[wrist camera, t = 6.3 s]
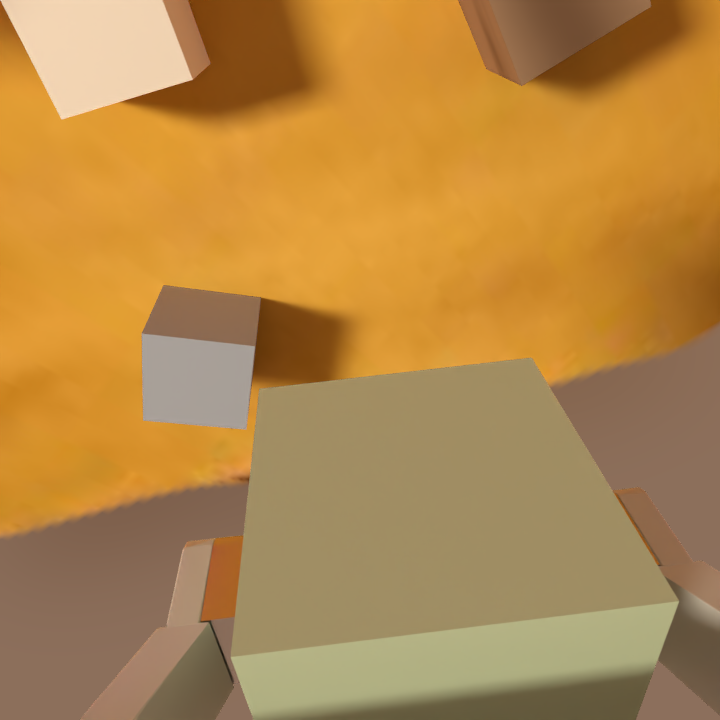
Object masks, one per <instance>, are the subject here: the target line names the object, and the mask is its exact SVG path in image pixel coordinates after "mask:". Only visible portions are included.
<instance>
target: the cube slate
mask: <svg viewBox="0 0 720 720" xmlns="http://www.w3.org/2000/svg"><path fill="white" fill-rule="evenodd" d="M260 303H261V297H253V296H245V295H237V294H229V293H221V292H213V291H206V290H198V289H190V288H182V287H174V286H166V285H164V286H163V288H162V290H161V292H160V294H159V297H158V299H157V301H156V303H155V306H154V308H153V310H152V312H151V314H150V317H149V319H148V321H147V323H146V326H145V328H144V330H143V332H142V373H143V420H144V421H155V422H167V423H178V424H190V425H201V426H212V427H224V428H235V429H246V427H247V419H248V410H249V402H250V394H251V386H252V378H253V369H254V359H255V350H256V340H257V331H258V322H259V312H260Z"/></svg>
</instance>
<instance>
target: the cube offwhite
mask: <svg viewBox="0 0 720 720" xmlns="http://www.w3.org/2000/svg"><path fill="white" fill-rule="evenodd" d="M0 1H1V2H2V4H3V6H4V8H5V10H6V12H7V14H8V16H9V18H10V20H11V22H12V24H13V26H14V28H15V30H16V32H17V34H18V35H19V37H20V39H21V41H22V43H23V45H24V47H25V49H26V51H27V53H28V55H29V57H30V59H31V61H32V63H33V65H34V67H35V68H36V70H37V72H38V74H39V76H40V78H41V80H42V82H43V84H44V86H45V88H46V90H47V92H48V94H49V96H50V98H51V100H52V101H53V103H54V105H55V107H56V109H57V111H58V113H59V115H60V117H61V119H65V118H68V117H71V116H75V115H78V114H81V113H84V112H88V111H91V110H94V109H98V108H101V107H104V106H108V105H111V104H114V103H117V102H121V101H124V100H127V99H131V98H134V97H137V96H141V95H144V94H147V93H150V92H154V91H157V90H160V89H164V88H167V87H170V86H174V85H177V84H180V83H183V82H187V81H190V80H193V79H194V78H195V77H196V76H197V75H199V74H200V73H201V72H202V71H203V70H204V69H205V68H206V67H208V66H209V65H210V64H211V63H210V60H209V57H208V55H207V52H206V49H205V46H204V44H203V41H202V38H201V35H200V32H199V30H198V27H197V24H196V21H195V19H194V16H193V13H192V10H191V8H190V5H189V2H188V0H0Z"/></svg>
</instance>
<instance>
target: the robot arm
mask: <svg viewBox="0 0 720 720" xmlns="http://www.w3.org/2000/svg"><path fill="white" fill-rule="evenodd" d="M613 493H614V494H615V496H616V498H617V499H618V501H619V503H620V504H621V506H622V508H623V509H624V511H625V512H626V514H627V516H628V517H629V519H630V521H631V522H632V524H633V526H634V527H635V529H636V531H637V532H638V534H639V536H640V537H641V539H642V541H643V542H644V544H645V545H646V547H647V549H648V550H649V552H650V554H651V555H652V557H653V559H654V560H655V562H656V564H657V565H658V567H659V569H660V570H661V572H662V574H663V575H664V577H665V578H666V580H667V582H668V583H669V585H670V587H671V588H672V590H673V592H674V593H675V595H676V597H677V598H678V600H679V603H678V606H677V609H676V611H675V614H674V617H673V620H672V622H671V625H670V628H669V630H668V633H667V636H666V639H665V641H664V644H663V647H662V650H661V652H660V655H659V658H658V660H659V661H660V662H661V663H662V664H663V665H664V666H665V667H666V668H667V669H668V670H670V671H671V672H672V673H673V674H674V675H675V676H676V677H677V678H678V679H680V680H681V681H682V682H683V683H684V684H685V685H686V686H687V687H688V688H690V689H691V690H692V691H693V692H694V693H695V694H696V695H697V696H699V697H700V698H701V699H702V700H703V701H704V702H705V703H706V704H707V705H709V706H710V707H711V708H712V709H713V710H714V711H715V712H716V713H718V714H719V715H720V572H719V571H717V570H716V569H714V568H713V567H711V566H709V565H708V564H706V563H705V562H703V561H695V562H693V561H692V559H691V558H690V556H689V555H688V553H687V552H686V550H685V549H684V548H683V546H682V545H681V543H680V542H679V540H678V539H677V537H676V536H675V534H674V533H673V531H672V530H671V529H670V527H669V525H668V524H667V523H666V521H665V520H664V518H663V517H662V515H661V514H660V512H659V511H658V509H657V508H656V506H655V505H654V504H653V502H652V501H651V499H650V498H649V496H648V495H647V493H646V492H645V491H644V490H642V489H641V488H639V487H638V488H630V489H622V490H613ZM242 546H243V536H234V537H225V538H215V539H205V540H196V541H188V542H187V543H186V545H185V547H184V549H183V551H182V556H181V560H180V565H179V570H178V575H177V579H176V584H175V588H174V593H173V598H172V602H171V607H170V612H169V616H168V621H167V625H166V627H163V628H157V630H156V631H155V632H154V633H153V634H152V635H151V636H150V638H149V639H148V640H147V641H146V643H145V644H144V645H143V646H142V647H141V648H140V649H139V651H138V652H137V653H136V654H135V655H134V656H133V658H132V659H131V660H130V661H129V662H128V664H127V665H126V666H125V667H124V668H123V669H122V671H121V672H120V673H119V674H118V676H116V678H115V679H114V680H113V681H112V682H111V684H110V685H109V686H108V687H107V688H106V689H105V691H104V692H103V693H102V694H101V695H100V696H99V697H98V699H97V700H96V701H95V702H94V704H92V706H91V707H90V708H89V709H88V710H87V712H86V713H85V714H84V715H83V716H82V717H81V719H80V720H215V719H216V717H217V716H218V714H219V712H220V710H221V709H222V707H223V705H224V704H225V702H226V700H227V698H228V696H229V695H230V693H231V691H232V690H233V688H234V686H233V684H237V683H240V682H239V679H238V676H237V673H236V671H235V668H234V665H233V663H232V660H231V648H232V638H233V629H234V620H235V610H236V601H237V592H238V583H239V573H240V564H241V555H242Z"/></svg>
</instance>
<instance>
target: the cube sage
mask: <svg viewBox="0 0 720 720" xmlns="http://www.w3.org/2000/svg"><path fill="white" fill-rule="evenodd" d="M678 603H679V600H678V598H677V597H676V595H675V593H674V592H673V590H672V588H671V587H670V585H669V583H668V582H667V580H666V578H665V577H664V575H663V574H662V572H661V570H660V569H659V567H658V565H657V564H656V562H655V560H654V559H653V557H652V555H651V554H650V552H649V550H648V549H647V547H646V545H645V544H644V542H643V541H642V539H641V537H640V536H639V534H638V532H637V531H636V529H635V527H634V526H633V524H632V522H631V521H630V519H629V517H628V516H627V514H626V512H625V511H624V509H623V508H622V506H621V504H620V503H619V501H618V499H617V498H616V496H615V494H614V493H613V491H612V489H611V488H610V486H609V485H608V483H607V481H606V480H605V478H604V476H603V475H602V473H601V471H600V470H599V468H598V466H597V465H596V463H595V461H594V460H593V458H592V456H591V455H590V453H589V451H588V450H587V448H586V446H585V445H584V443H583V442H582V440H581V438H580V437H579V435H578V433H577V432H576V430H575V428H574V427H573V425H572V424H571V422H570V420H569V419H568V417H567V415H566V414H565V412H564V410H563V409H562V407H561V406H560V404H559V402H558V400H557V399H556V397H555V395H554V394H553V392H552V390H551V389H550V387H549V385H548V384H547V382H546V381H545V379H544V377H543V376H542V374H541V372H540V371H539V369H538V367H537V366H536V364H535V362H534V361H533V359H532V358H525V359H516V360H508V361H499V362H490V363H481V364H473V365H464V366H455V367H446V368H438V369H429V370H420V371H411V372H403V373H394V374H385V375H376V376H368V377H359V378H350V379H341V380H332V381H324V382H315V383H306V384H297V385H289V386H280V387H271V388H262V389H259V397H258V406H257V416H256V425H255V434H254V443H253V453H252V462H251V471H250V481H249V490H248V499H247V509H246V518H245V527H244V536H243V546H242V555H241V564H240V573H239V583H238V592H237V601H236V610H235V620H234V629H233V638H232V648H231V660H232V663H233V665H234V668H235V671H236V673H237V676H238V679H239V682H240V684H241V687H242V689H243V692H244V695H245V698H246V700H247V703H248V705H249V708H250V711H251V714H252V717H253V719H254V720H636V717H637V714H638V712H639V709H640V707H641V704H642V701H643V698H644V695H645V693H646V690H647V687H648V685H649V682H650V679H651V677H652V674H653V671H654V669H655V666H656V663H657V660H658V658H659V655H660V652H661V650H662V647H663V644H664V641H665V639H666V636H667V633H668V630H669V628H670V625H671V622H672V620H673V617H674V614H675V611H676V609H677V606H678Z"/></svg>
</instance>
